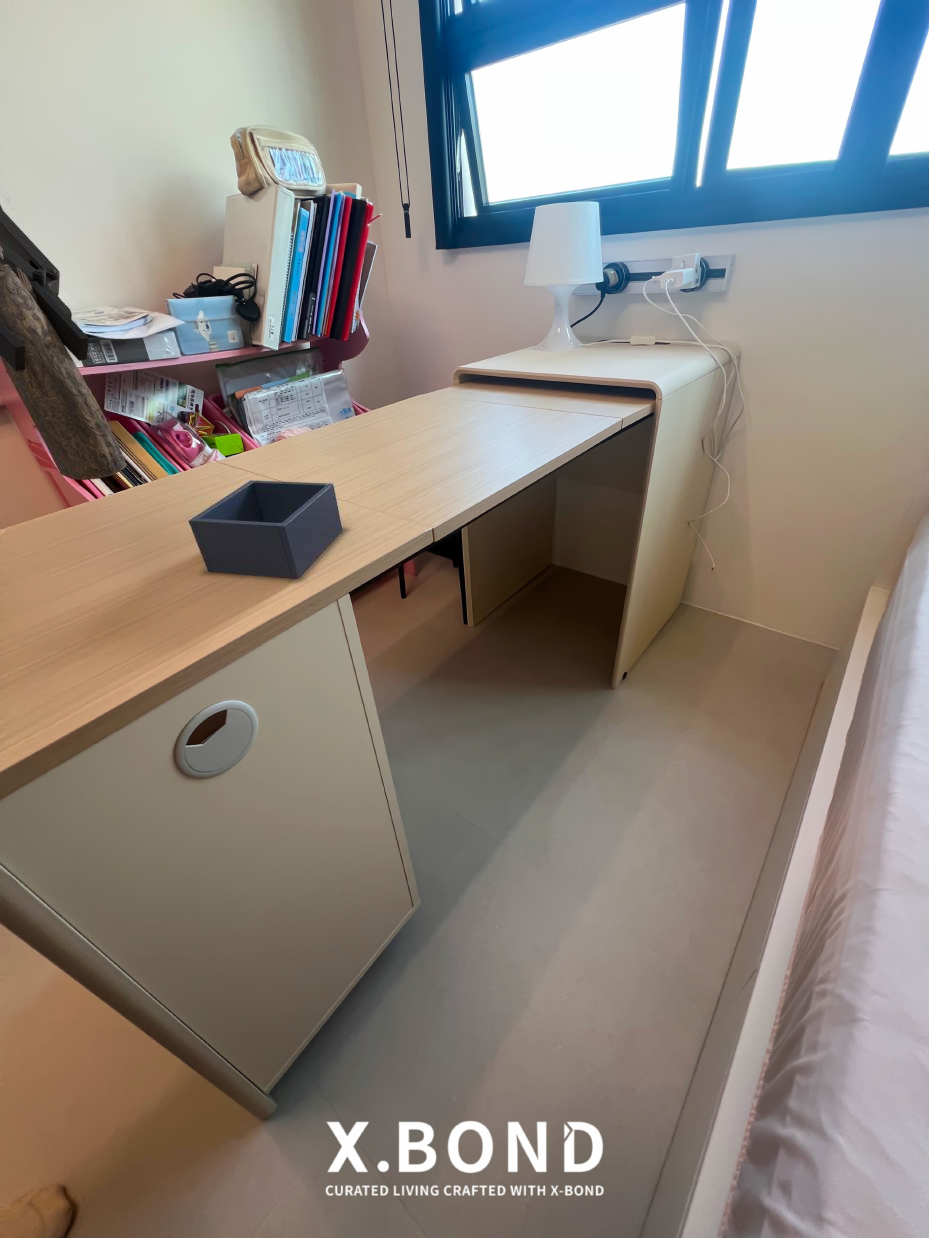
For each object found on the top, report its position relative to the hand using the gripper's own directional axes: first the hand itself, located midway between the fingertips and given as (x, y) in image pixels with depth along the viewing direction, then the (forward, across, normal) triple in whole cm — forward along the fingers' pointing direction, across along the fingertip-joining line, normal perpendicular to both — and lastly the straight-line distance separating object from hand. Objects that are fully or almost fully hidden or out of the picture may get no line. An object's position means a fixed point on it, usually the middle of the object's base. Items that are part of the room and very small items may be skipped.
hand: (53, 353), depth 47 cm
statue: (+6, -1, -11) cm, 12 cm away
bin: (+23, -13, -13) cm, 29 cm away
